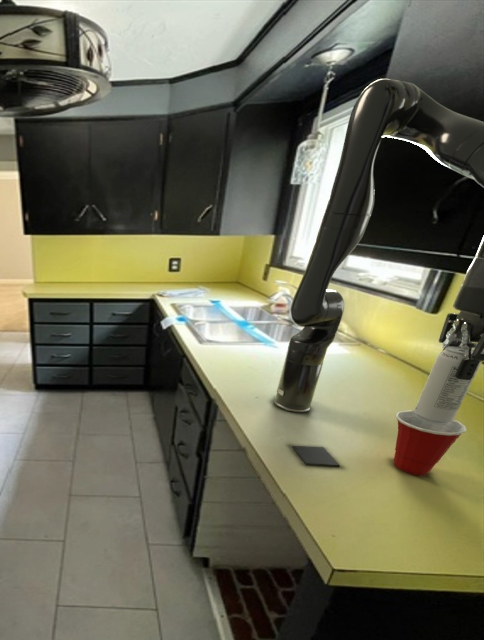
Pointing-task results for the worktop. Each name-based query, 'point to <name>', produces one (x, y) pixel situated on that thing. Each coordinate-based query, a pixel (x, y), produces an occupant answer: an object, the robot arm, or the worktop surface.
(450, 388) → the energy drink can
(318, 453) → the coaster
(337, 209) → the robot arm
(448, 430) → the plastic cup
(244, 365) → the worktop surface
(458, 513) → the worktop surface
